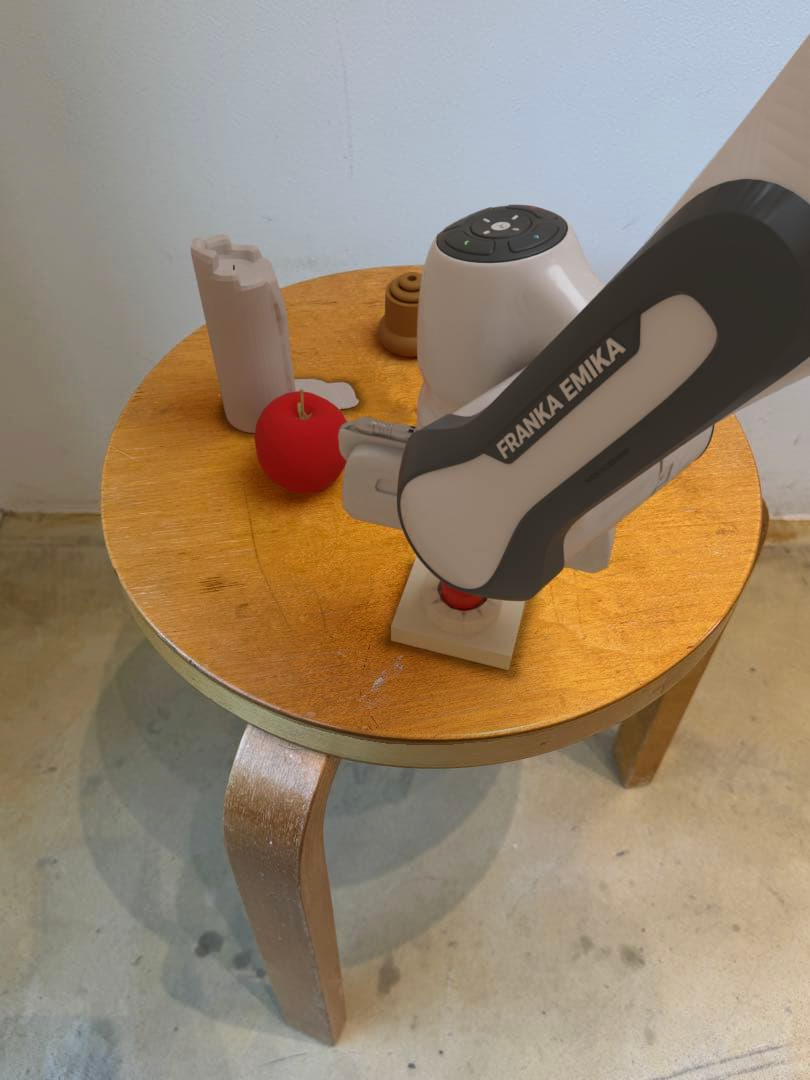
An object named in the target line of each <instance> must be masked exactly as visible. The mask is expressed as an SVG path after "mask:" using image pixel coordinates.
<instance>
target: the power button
mask: <svg viewBox="0 0 810 1080" xmlns="http://www.w3.org/2000/svg"><path fill="white" fill-rule="evenodd" d="M441 594H442V597H443V599H444V601H445V602H446V603H447V604H448V605H449V606H451V607H453V608H455V609H459V610H470V609H473V608H475V607H477V606H478V605H480V604H481V603H482V601H483V600H484V597H479V596H475V595H472V594H468V593H465V592H461V591H459V590H456V589H454V588H452V587H450V586H448V585H446V584H445V583H443V582H442V587H441Z"/></svg>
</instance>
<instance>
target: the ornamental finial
mask: <svg viewBox="0 0 810 1080" xmlns="http://www.w3.org/2000/svg"><path fill="white" fill-rule="evenodd" d="M421 278H422V273H419V272H416V271H408V272H405V273H402V274H400V275H398V276H396V277H395V278H394V279H392V280H391V281H389V282H388V284H386V287H385V293H384V314H383V315H382V317H381V318H380V320H379V322H378V326H377V334H378V335H377V336H378V338H379V340H380V343H381V344H382V346H383V347H384V348H385V349H386V350H388V351H389V352H390V353H392V354H394V355H397V356H400V357H404V358H417V321H418V303H419V293H420V285H421Z"/></svg>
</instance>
